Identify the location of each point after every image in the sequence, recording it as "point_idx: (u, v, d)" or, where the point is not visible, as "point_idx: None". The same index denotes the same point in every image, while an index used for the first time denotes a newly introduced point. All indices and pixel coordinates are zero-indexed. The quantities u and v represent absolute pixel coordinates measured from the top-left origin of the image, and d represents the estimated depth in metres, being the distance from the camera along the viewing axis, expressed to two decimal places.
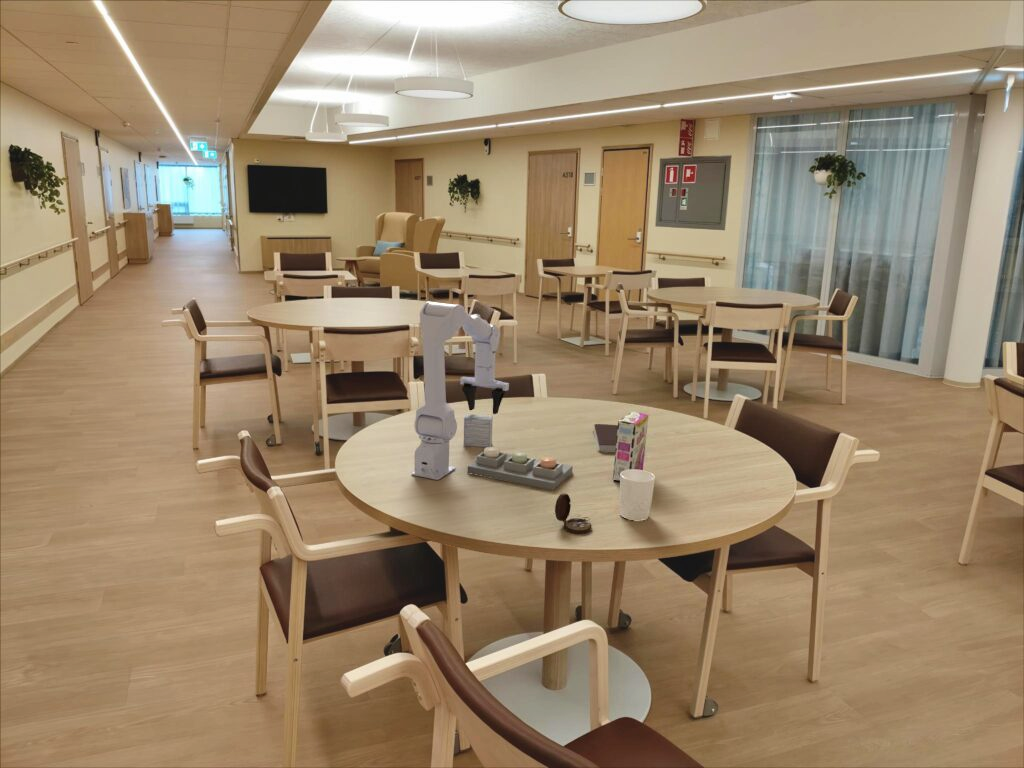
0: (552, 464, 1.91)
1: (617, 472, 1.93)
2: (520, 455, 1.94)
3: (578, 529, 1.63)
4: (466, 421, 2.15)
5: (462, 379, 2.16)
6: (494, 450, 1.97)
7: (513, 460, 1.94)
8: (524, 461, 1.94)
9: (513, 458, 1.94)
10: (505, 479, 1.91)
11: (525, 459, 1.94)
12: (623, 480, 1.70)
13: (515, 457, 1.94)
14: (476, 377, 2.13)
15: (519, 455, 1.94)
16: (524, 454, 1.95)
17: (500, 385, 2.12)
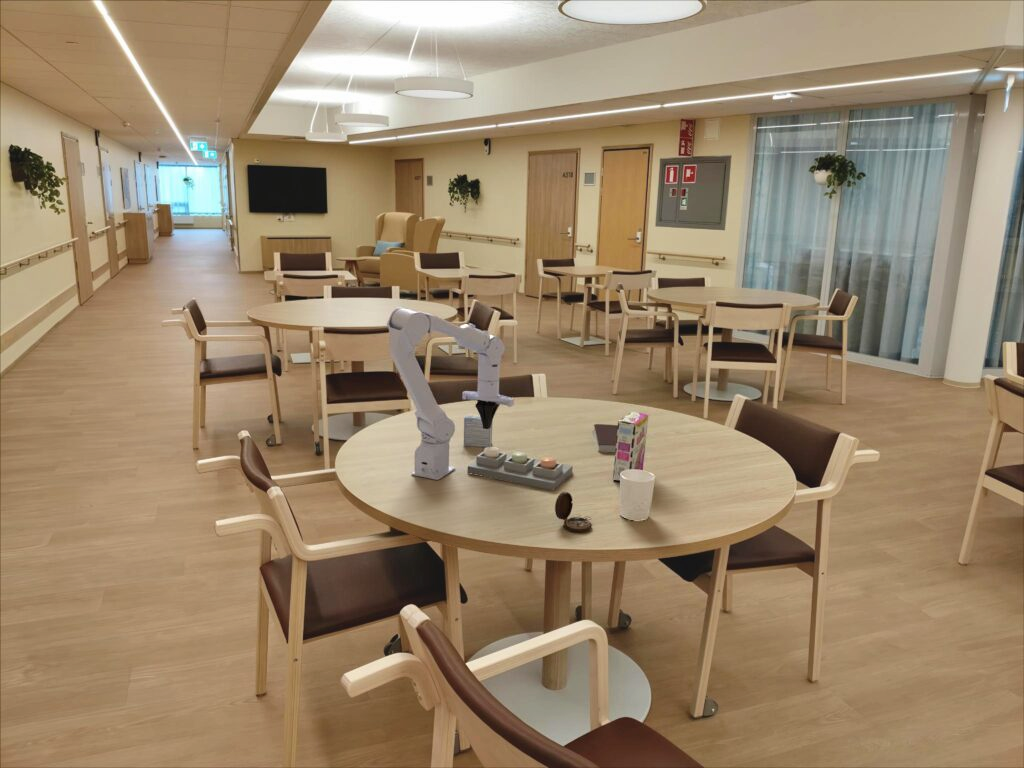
0: (552, 464, 1.91)
1: (617, 472, 1.93)
2: (520, 455, 1.94)
3: (577, 528, 1.63)
4: (466, 421, 2.15)
5: (464, 394, 2.03)
6: (494, 450, 1.97)
7: (513, 460, 1.94)
8: (524, 461, 1.94)
9: (513, 458, 1.94)
10: (505, 479, 1.91)
11: (525, 459, 1.94)
12: (623, 480, 1.70)
13: (515, 457, 1.94)
14: (479, 392, 1.99)
15: (519, 455, 1.94)
16: (524, 454, 1.95)
17: (505, 400, 1.98)
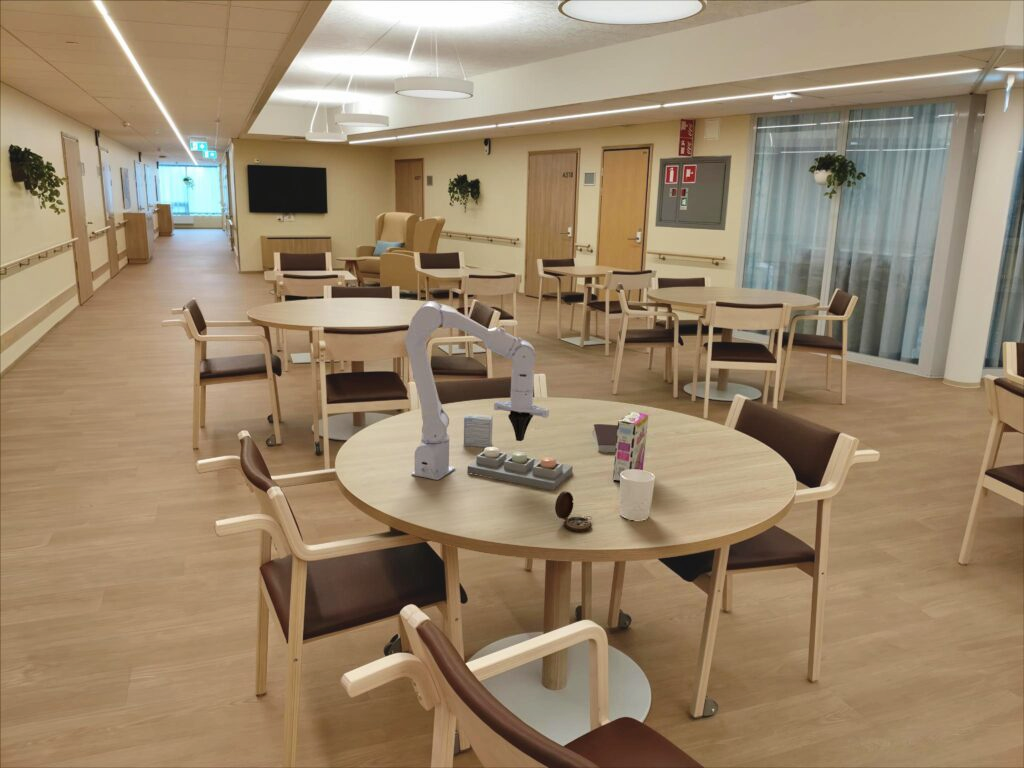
0: (552, 464, 1.91)
1: (617, 472, 1.93)
2: (520, 455, 1.94)
3: (576, 527, 1.64)
4: (466, 421, 2.15)
5: (496, 404, 1.94)
6: (494, 450, 1.97)
7: (513, 460, 1.94)
8: (524, 461, 1.94)
9: (513, 458, 1.94)
10: (505, 479, 1.91)
11: (525, 459, 1.94)
12: (623, 480, 1.70)
13: (515, 457, 1.94)
14: (512, 402, 1.90)
15: (519, 455, 1.94)
16: (524, 454, 1.95)
17: (539, 411, 1.89)
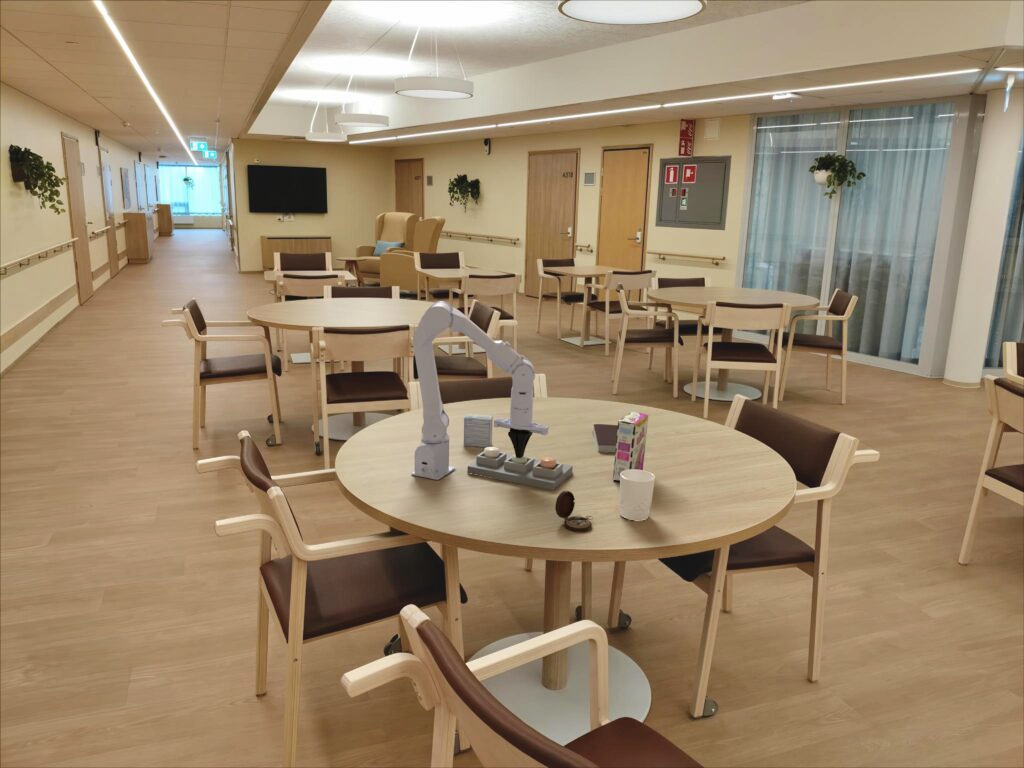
0: (552, 464, 1.91)
1: (617, 472, 1.93)
2: None
3: (576, 527, 1.64)
4: (466, 421, 2.15)
5: (496, 421, 1.95)
6: (494, 450, 1.97)
7: None
8: (524, 463, 1.94)
9: (513, 460, 1.94)
10: (505, 479, 1.91)
11: (525, 461, 1.94)
12: (623, 480, 1.70)
13: (515, 459, 1.94)
14: (512, 420, 1.91)
15: None
16: (524, 456, 1.95)
17: (539, 429, 1.90)
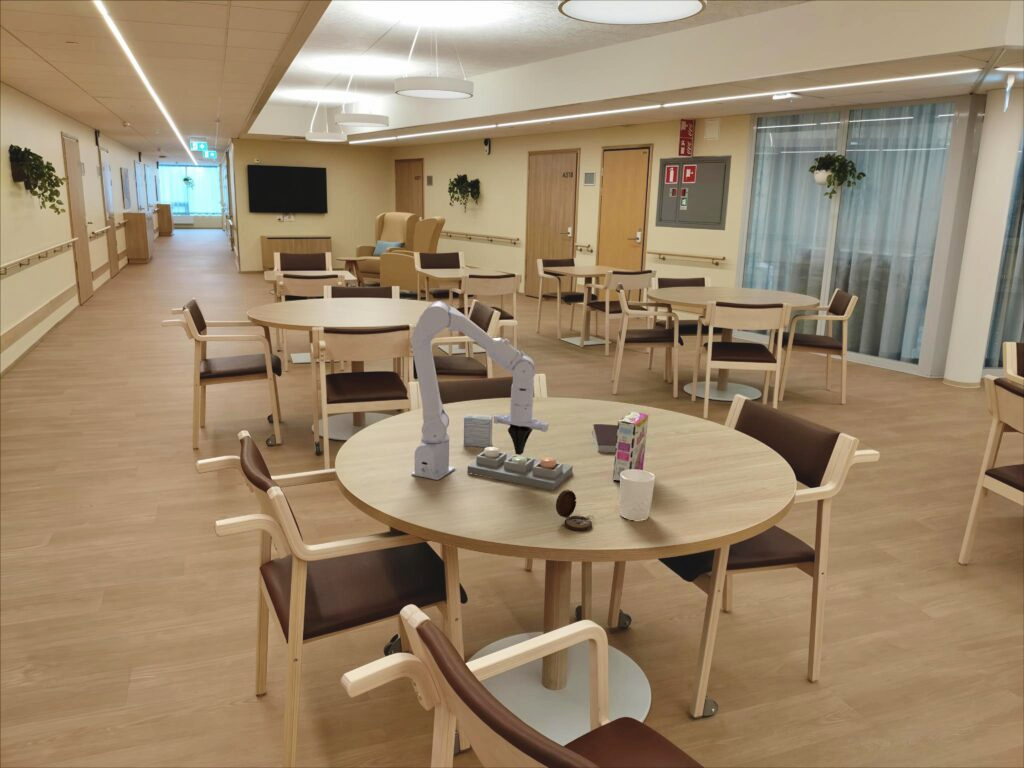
0: (552, 464, 1.91)
1: (617, 472, 1.93)
2: (520, 460, 1.95)
3: (575, 526, 1.64)
4: (466, 421, 2.15)
5: (496, 418, 1.95)
6: (494, 450, 1.97)
7: None
8: None
9: None
10: (505, 479, 1.91)
11: None
12: (623, 480, 1.70)
13: (515, 462, 1.94)
14: (512, 416, 1.91)
15: (519, 460, 1.95)
16: (524, 459, 1.96)
17: (539, 425, 1.90)
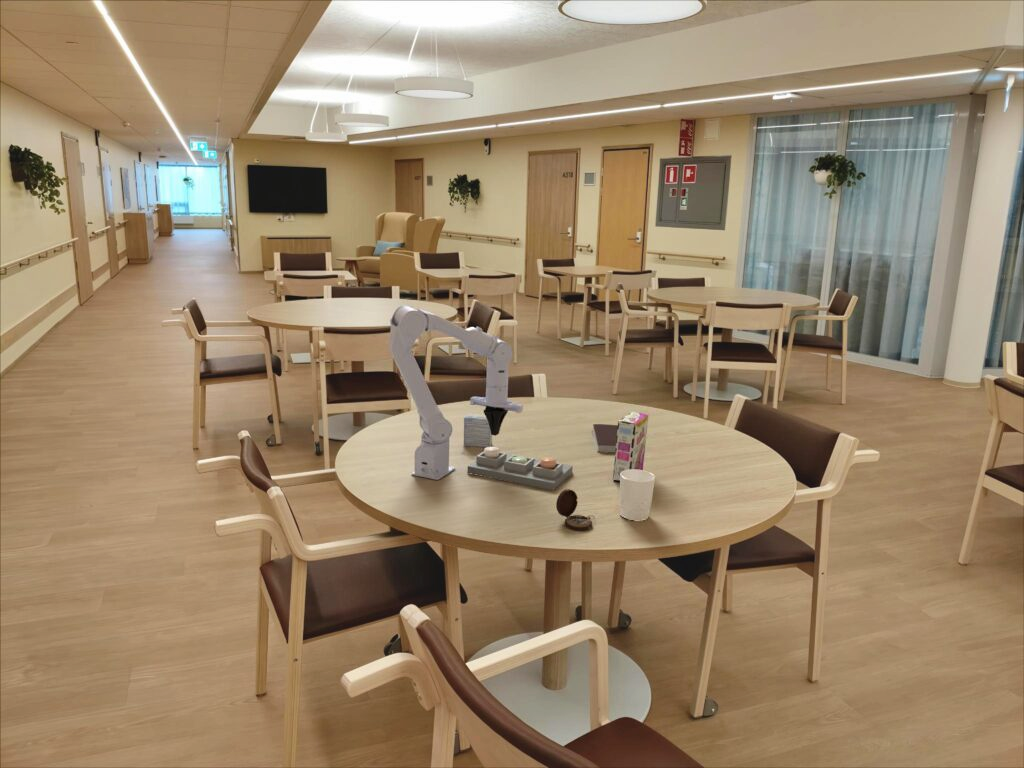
0: (552, 464, 1.91)
1: (617, 472, 1.93)
2: (520, 460, 1.95)
3: (575, 525, 1.65)
4: (466, 421, 2.15)
5: (472, 399, 2.00)
6: (494, 450, 1.97)
7: None
8: None
9: None
10: (505, 479, 1.91)
11: None
12: (623, 480, 1.70)
13: (515, 462, 1.94)
14: (487, 397, 1.96)
15: (519, 460, 1.95)
16: (524, 459, 1.96)
17: (513, 407, 1.95)
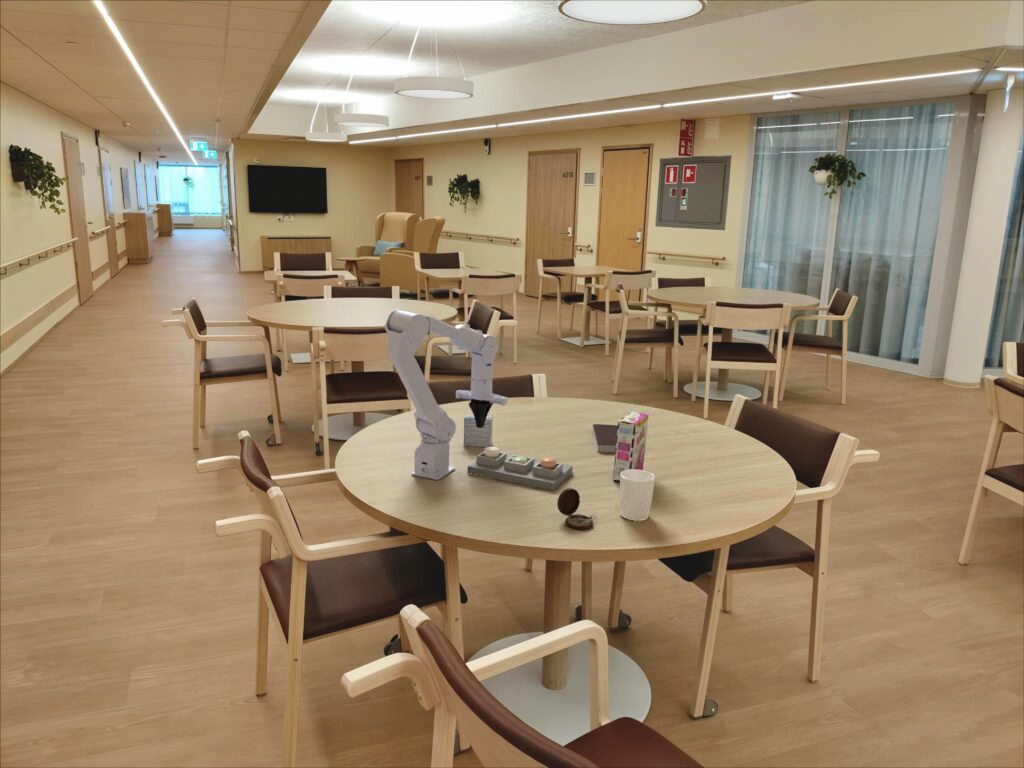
0: (552, 464, 1.91)
1: (617, 472, 1.93)
2: (520, 460, 1.95)
3: (575, 524, 1.65)
4: (466, 421, 2.15)
5: (457, 393, 2.04)
6: (494, 450, 1.97)
7: None
8: None
9: None
10: (505, 479, 1.91)
11: None
12: (623, 480, 1.70)
13: (515, 462, 1.94)
14: (472, 391, 2.00)
15: (519, 460, 1.95)
16: (524, 459, 1.96)
17: (498, 399, 1.99)
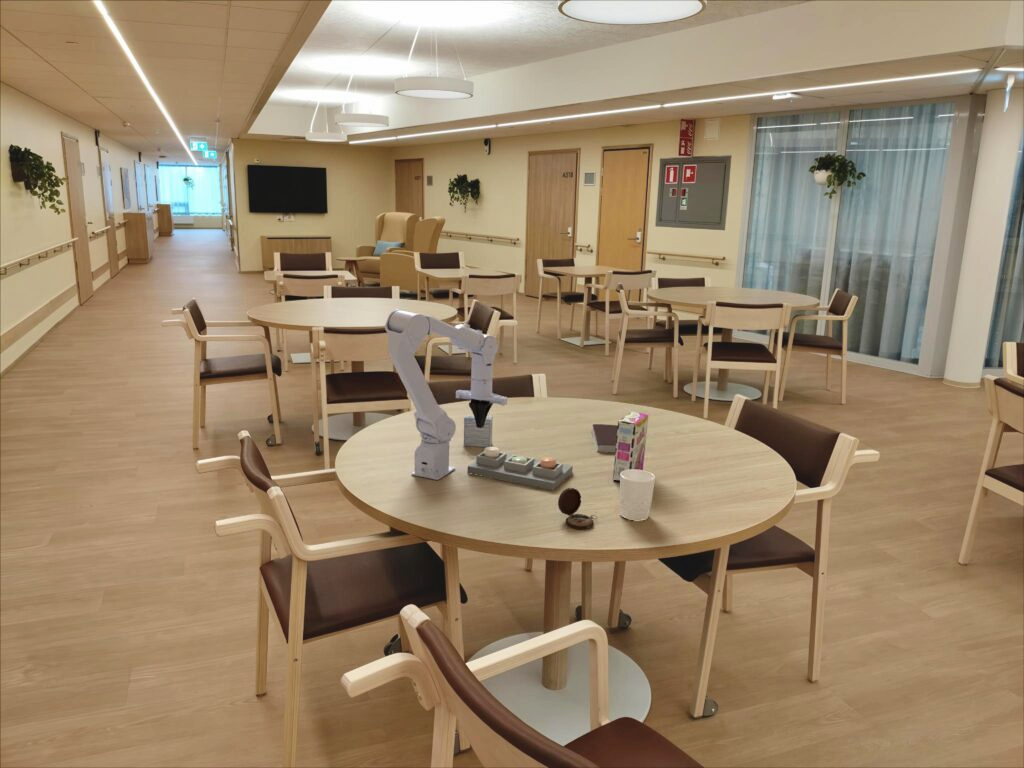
0: (552, 464, 1.91)
1: (617, 472, 1.93)
2: (520, 460, 1.95)
3: (575, 524, 1.65)
4: (466, 421, 2.15)
5: (457, 393, 2.04)
6: (494, 450, 1.97)
7: None
8: None
9: None
10: (505, 479, 1.91)
11: None
12: (623, 480, 1.70)
13: (515, 462, 1.94)
14: (472, 391, 2.00)
15: (519, 460, 1.95)
16: (524, 459, 1.96)
17: (498, 399, 1.99)
